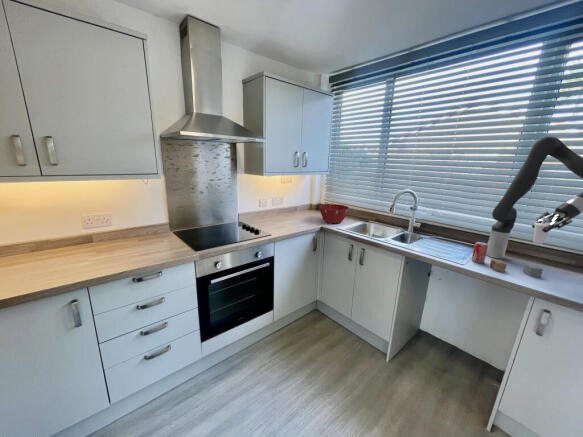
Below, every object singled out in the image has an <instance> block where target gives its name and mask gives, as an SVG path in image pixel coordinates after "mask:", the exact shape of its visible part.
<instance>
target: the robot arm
mask: <svg viewBox="0 0 583 437" xmlns="http://www.w3.org/2000/svg"><path fill="white" fill-rule="evenodd" d="M548 156H549V157H552V158H555V159H556V160H558V161H559V162H560V163H562V164H563V165H564V166H565V167H566V168H567V169H568V170H569V171H570V172H571V173H573V174H574V175H576V176H578V177H579V178H581V179H582V180H583V157H582V156H581V155H579V154H577V153H576V152H575V151H573V150H571V149H570V148H569V147H568V146H567V145H566V144H565V143H563V142H562V141H561V140H560V139H559V138H558V137H555V136H542V137H539V138H538V139H537V140H535V142H534V143H533V144H532V145H531V148H530V151H529V153H528V154H527V156H526V159H525V161H524V162H523V163H522V165H521V167H520V168H519V169H518V172H517V173H516V175H515V177H514V178H513V180H512V181H511V183H510V184H509V187H508V188H507V190H506V192H505V193H504V195H503V197H502V198H501V200H500V201H499V202H498V204H496V206H495V207H494V208H493V210H492V213H491V216H492V218H493V219H494V220H495V221H496V223H495V224H493V225H492V226H491V230H490V234H489V239H488V242H487V243H486V244H487V246H488V248H487V252H486V256H487V257H489V258H491V259H496V260H503V259H505V254H506V252H507V247H508V244H509V240H510V235H511V231H512V229H513V228H514V227H515V224H516V220H517V216H518V212H517V209H516V208H515V207H514V206H515V205H516V203H517V202H518V201H519V200H521V199H522V198H523V197H524V196H525V195H526V194H528V193H529V192H530V190H532V187H533V186H534V185H535V183H536V181H538V180H537V179H538V176H539V174H540V169H541V166H542V164H543V162H544V161H545V160H546V159H547V157H548ZM554 210H555V211H553V212H551V213H549V212H548V211H545V212H543V213H542V214H541V215H540V216H539V217H537V218H536V220H537V221H536V222H535V223H542V220H543V216H545V218H544V222H543V224H549V225H548V226H546V227H544V228H543V229H542V230H543V232H548V231H549V230H550V231H551V230H553V229H562V228H564V227H565V226H567V225H568V224H571V223H573V220H572V219H575V218H576V217H578V216H579V215H580V214H582V213H583V191H582V192H580V193H579V194H577V195H576V196H574V197H572V198H570V199H569V200H567V201H565V202H562V204H561V205H558V206H557V207H556V208H555V209H554ZM535 223H533V224H532V225H531V227H532V229H534V228H535V225H534V224H535ZM550 231H549V232H550Z"/></svg>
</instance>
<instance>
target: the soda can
mask: <svg viewBox="0 0 583 437" xmlns="http://www.w3.org/2000/svg"><path fill="white" fill-rule="evenodd" d="M487 244H488V243H487V242H483V241H476V242H475V243H474V248H473V252H472V256H471V260H472V261H473V262H474V263H477V264H483V263H485V262H486V256H487V255H486V252H487V248H488V246H487Z"/></svg>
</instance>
